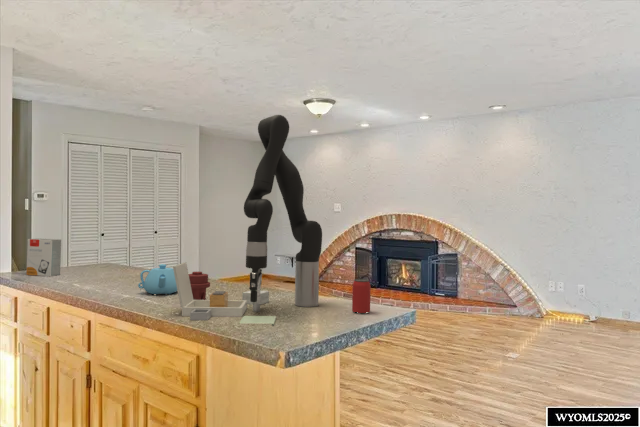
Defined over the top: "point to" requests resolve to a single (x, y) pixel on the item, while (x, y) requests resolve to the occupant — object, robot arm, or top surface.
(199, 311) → the case
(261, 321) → the pad
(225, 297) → the module
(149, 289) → the teapot
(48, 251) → the hard drive box
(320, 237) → the robot arm
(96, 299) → the top surface
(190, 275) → the mechanical component
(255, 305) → the rod
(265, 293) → the small box
